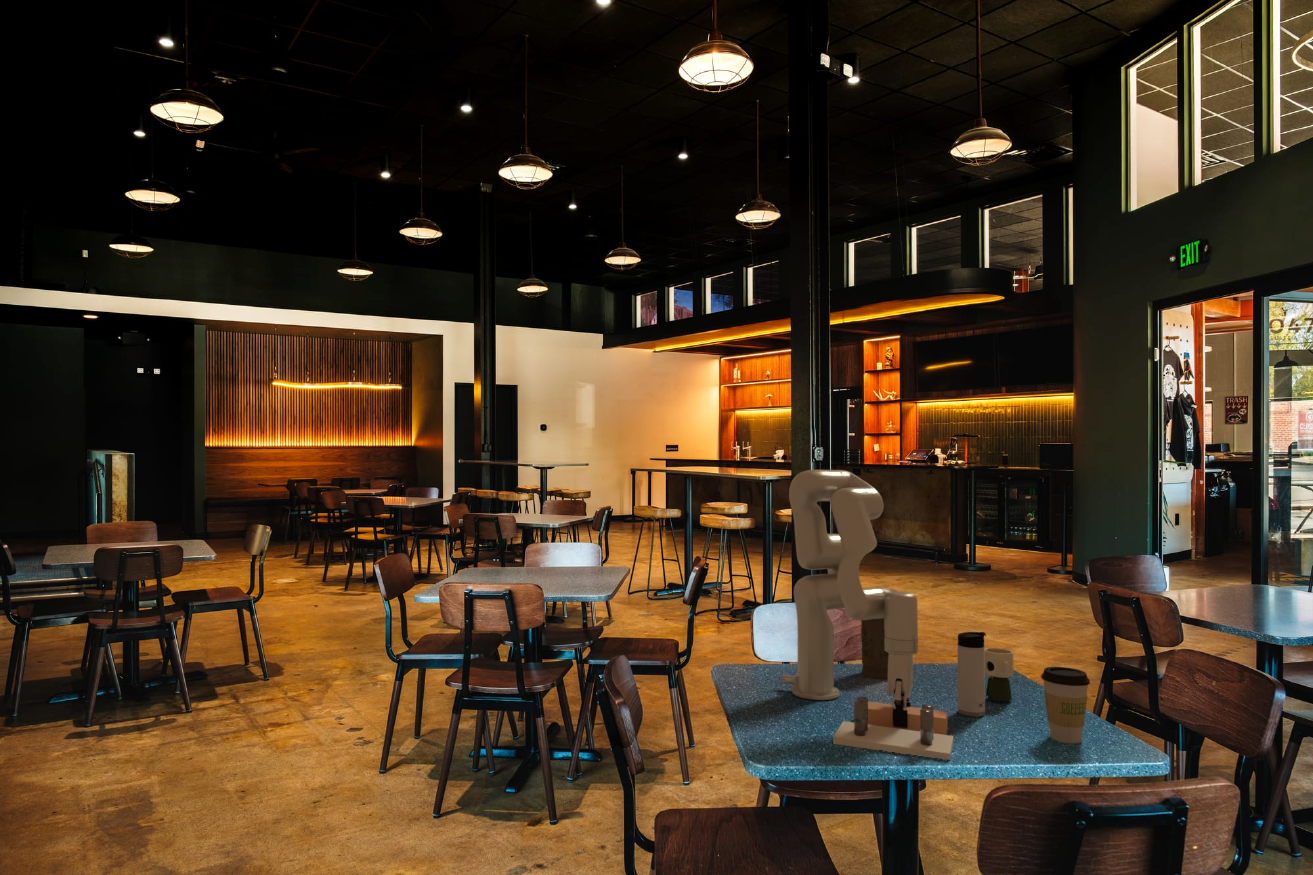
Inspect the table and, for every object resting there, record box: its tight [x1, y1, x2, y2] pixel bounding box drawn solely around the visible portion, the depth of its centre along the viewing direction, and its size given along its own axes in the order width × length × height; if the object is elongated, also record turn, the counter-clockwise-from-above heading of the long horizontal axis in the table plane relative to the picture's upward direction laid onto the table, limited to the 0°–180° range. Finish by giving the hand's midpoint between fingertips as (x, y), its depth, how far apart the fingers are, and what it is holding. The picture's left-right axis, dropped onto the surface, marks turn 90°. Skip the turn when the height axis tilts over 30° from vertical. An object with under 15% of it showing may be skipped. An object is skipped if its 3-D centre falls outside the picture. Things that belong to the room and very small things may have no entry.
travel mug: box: [957, 631, 987, 718], centre depth 196 cm, size 6×7×20 cm
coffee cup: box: [1040, 666, 1091, 744], centre depth 178 cm, size 10×10×15 cm
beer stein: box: [860, 618, 889, 679], centre depth 234 cm, size 15×11×20 cm
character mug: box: [984, 647, 1014, 703], centre depth 207 cm, size 11×7×13 cm, turn 179°
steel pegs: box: [853, 696, 934, 746], centre depth 174 cm, size 16×6×7 cm, turn 66°
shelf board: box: [868, 701, 949, 735], centre depth 185 cm, size 20×6×4 cm, turn 66°
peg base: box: [832, 721, 954, 760], centre depth 174 cm, size 24×12×2 cm, turn 66°
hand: (902, 722), depth 185 cm, fingers closed on shelf board, 6 cm apart
